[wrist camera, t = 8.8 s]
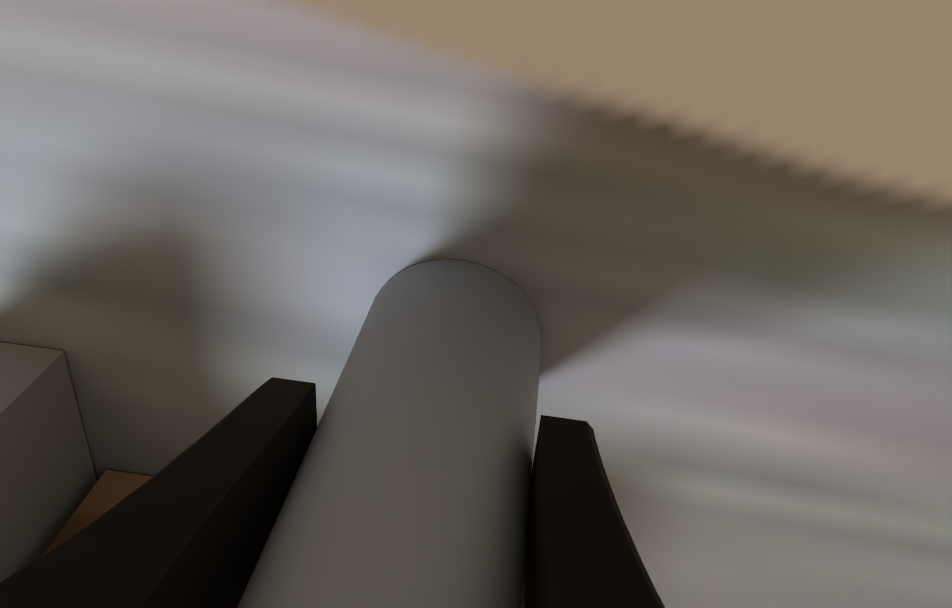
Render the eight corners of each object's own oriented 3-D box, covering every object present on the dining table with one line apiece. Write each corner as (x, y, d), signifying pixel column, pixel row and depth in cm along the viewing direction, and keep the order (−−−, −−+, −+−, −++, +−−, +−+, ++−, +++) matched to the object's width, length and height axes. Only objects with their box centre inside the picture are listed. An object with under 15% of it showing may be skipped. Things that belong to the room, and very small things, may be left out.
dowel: (530, 415, 14) (467, 1133, 6) (367, 393, 14) (110, 1064, 6) (553, 272, 12) (504, 1004, 5) (369, 248, 12) (27, 917, 5)
